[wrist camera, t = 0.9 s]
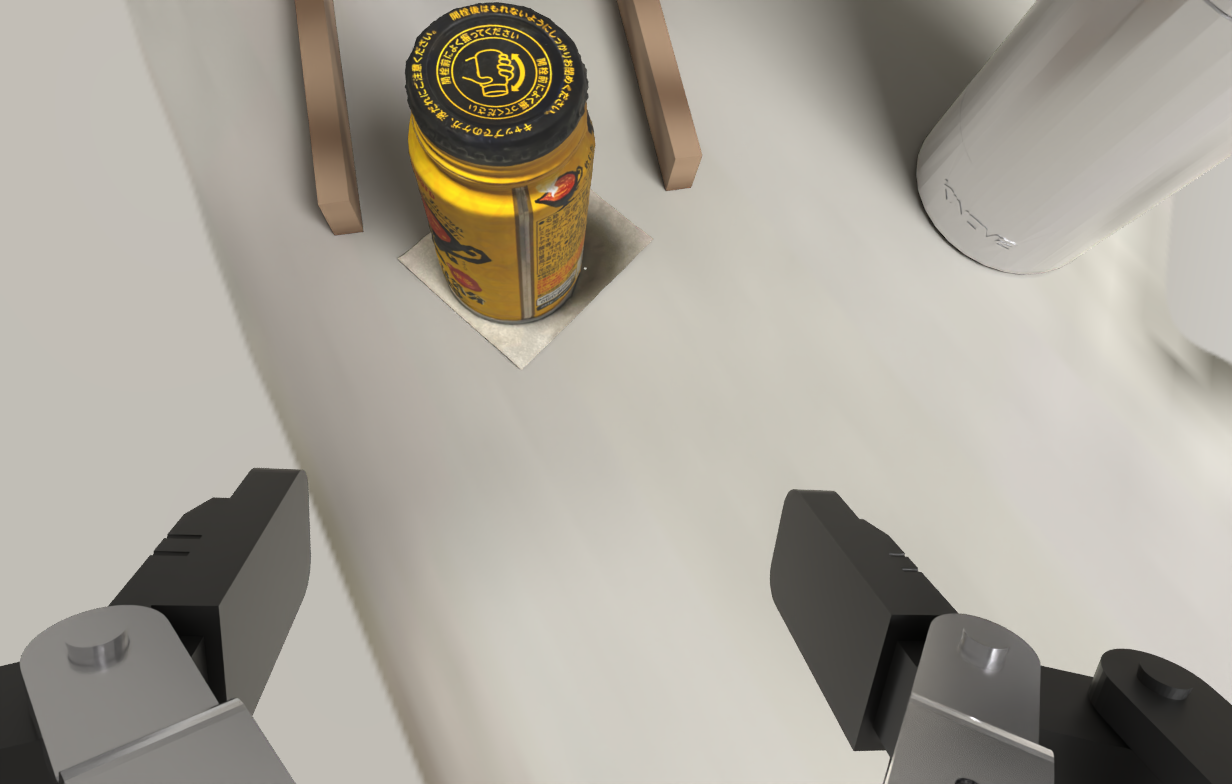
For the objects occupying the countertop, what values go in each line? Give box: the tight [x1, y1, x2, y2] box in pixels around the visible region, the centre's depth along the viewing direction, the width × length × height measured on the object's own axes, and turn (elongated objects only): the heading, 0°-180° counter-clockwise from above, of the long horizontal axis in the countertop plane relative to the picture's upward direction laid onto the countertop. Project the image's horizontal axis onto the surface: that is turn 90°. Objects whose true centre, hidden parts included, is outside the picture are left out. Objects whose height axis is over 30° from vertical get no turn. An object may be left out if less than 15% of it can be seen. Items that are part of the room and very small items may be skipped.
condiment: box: [398, 2, 653, 370], centre depth 27 cm, size 7×8×12 cm
